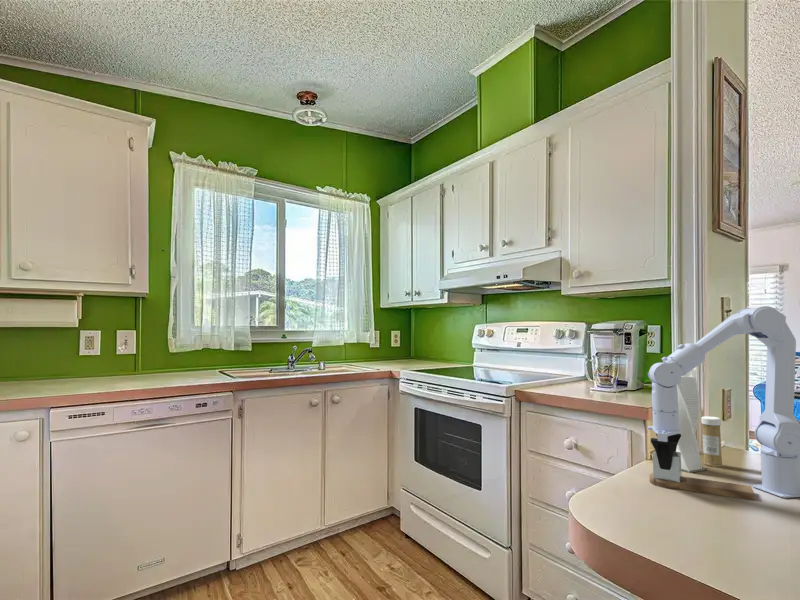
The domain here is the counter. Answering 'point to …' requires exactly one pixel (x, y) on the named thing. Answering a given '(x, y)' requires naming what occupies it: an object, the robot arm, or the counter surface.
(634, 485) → the counter surface
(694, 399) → the skyscraper
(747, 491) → the walnut base
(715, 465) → the sprinkles bottle
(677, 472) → the steel collar
